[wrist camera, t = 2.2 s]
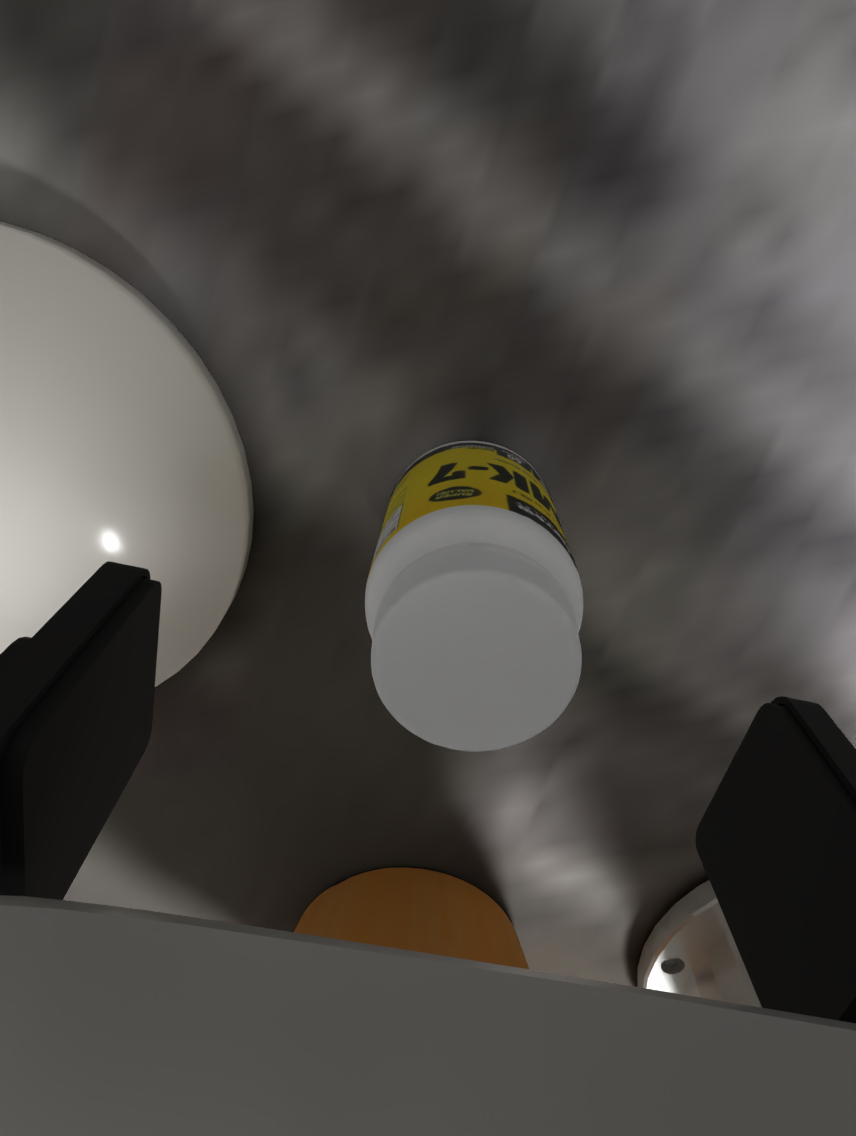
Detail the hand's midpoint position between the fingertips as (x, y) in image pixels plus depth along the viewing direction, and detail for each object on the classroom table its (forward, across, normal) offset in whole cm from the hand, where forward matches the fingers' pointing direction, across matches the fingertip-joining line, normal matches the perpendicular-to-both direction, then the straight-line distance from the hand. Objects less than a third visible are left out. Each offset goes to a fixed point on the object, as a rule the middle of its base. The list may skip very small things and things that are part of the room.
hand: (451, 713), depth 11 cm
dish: (+11, +12, +3) cm, 17 cm away
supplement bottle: (+11, -1, +1) cm, 11 cm away
